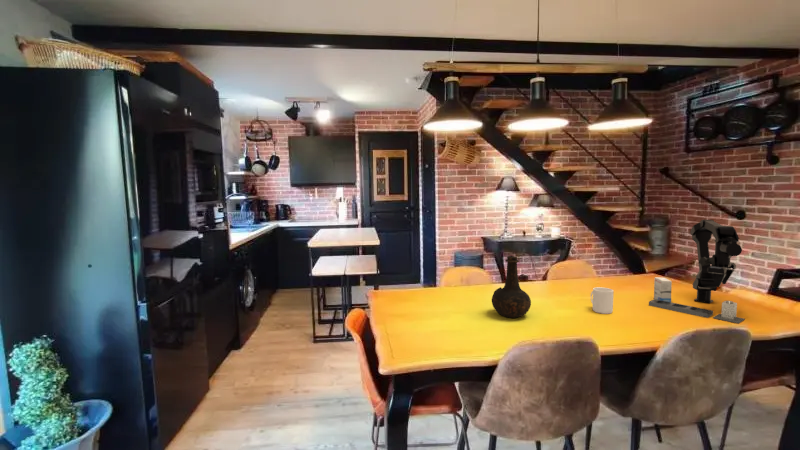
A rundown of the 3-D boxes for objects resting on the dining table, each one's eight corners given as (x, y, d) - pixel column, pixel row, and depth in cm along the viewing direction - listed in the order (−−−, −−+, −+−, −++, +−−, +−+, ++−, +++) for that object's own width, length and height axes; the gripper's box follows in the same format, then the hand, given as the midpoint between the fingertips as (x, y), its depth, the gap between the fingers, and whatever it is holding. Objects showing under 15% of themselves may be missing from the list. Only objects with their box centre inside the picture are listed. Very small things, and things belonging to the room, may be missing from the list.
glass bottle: (503, 306, 193) (504, 251, 191) (537, 314, 180) (538, 255, 178) (484, 315, 181) (484, 256, 178) (518, 324, 168) (519, 261, 165)
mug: (597, 305, 192) (598, 285, 191) (617, 313, 181) (617, 291, 180) (583, 307, 190) (583, 286, 189) (601, 315, 179) (602, 292, 178)
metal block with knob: (724, 315, 174) (725, 299, 173) (736, 318, 170) (737, 301, 170) (721, 317, 171) (722, 301, 171) (733, 320, 168) (734, 303, 167)
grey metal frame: (654, 302, 196) (654, 299, 196) (712, 314, 177) (713, 310, 176) (648, 305, 192) (648, 301, 192) (707, 317, 173) (708, 313, 172)
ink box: (671, 303, 194) (672, 281, 193) (660, 303, 195) (661, 280, 194) (663, 299, 203) (664, 277, 202) (653, 298, 204) (654, 276, 203)
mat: (719, 314, 177) (719, 313, 177) (744, 319, 170) (744, 318, 170) (712, 318, 172) (712, 317, 172) (738, 323, 165) (738, 322, 165)
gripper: (708, 248, 191) (706, 279, 192) (694, 252, 180) (692, 285, 181) (737, 251, 182) (735, 283, 183) (724, 255, 171) (722, 290, 172)
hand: (720, 285), depth 180 cm, fingers open, 9 cm apart
